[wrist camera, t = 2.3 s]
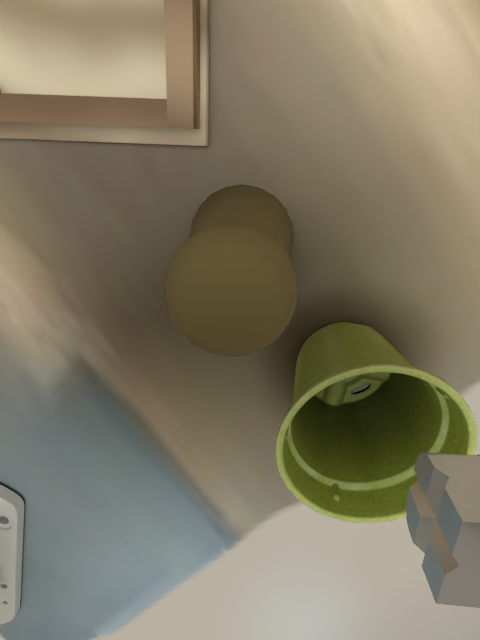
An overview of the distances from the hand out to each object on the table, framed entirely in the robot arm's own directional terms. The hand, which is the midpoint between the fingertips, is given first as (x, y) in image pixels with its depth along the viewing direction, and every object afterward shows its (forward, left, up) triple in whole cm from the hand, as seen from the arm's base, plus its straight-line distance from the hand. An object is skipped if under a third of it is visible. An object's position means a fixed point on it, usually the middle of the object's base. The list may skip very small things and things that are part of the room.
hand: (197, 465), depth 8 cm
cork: (0, 0, -19) cm, 19 cm away
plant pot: (-8, -7, -19) cm, 22 cm away
